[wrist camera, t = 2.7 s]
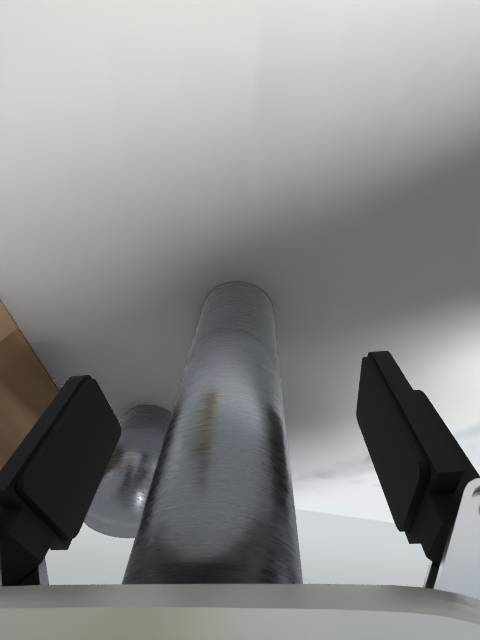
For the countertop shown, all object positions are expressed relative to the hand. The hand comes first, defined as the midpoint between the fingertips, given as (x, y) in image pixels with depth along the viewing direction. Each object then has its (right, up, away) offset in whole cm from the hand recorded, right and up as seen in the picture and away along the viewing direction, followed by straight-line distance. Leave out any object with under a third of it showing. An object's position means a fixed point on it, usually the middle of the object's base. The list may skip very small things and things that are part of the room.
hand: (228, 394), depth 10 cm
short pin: (-6, -4, +10) cm, 12 cm away
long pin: (0, +3, +5) cm, 5 cm away
